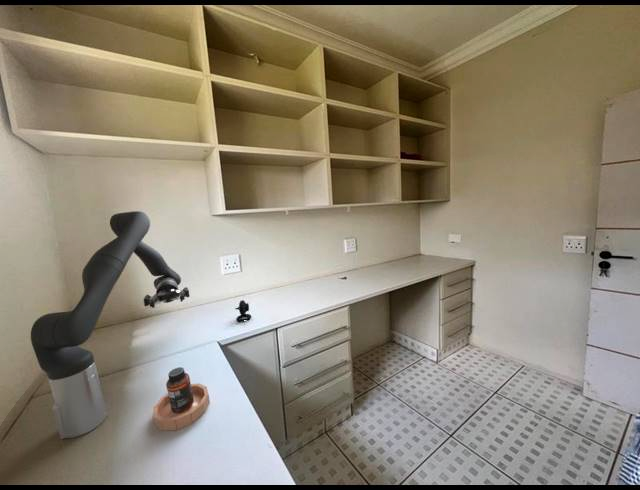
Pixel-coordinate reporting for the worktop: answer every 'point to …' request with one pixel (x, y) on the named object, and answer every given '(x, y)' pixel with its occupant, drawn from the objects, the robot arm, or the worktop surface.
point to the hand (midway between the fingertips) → (167, 301)
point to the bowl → (178, 420)
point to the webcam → (243, 311)
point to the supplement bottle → (179, 390)
